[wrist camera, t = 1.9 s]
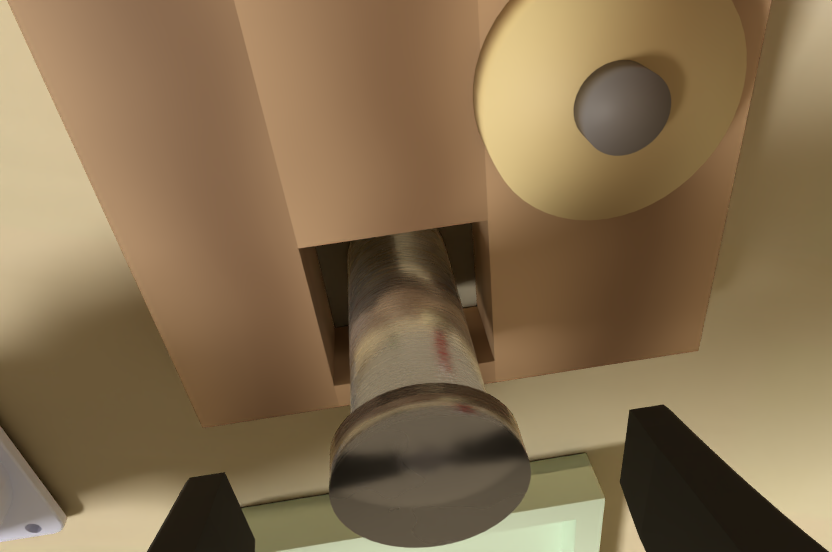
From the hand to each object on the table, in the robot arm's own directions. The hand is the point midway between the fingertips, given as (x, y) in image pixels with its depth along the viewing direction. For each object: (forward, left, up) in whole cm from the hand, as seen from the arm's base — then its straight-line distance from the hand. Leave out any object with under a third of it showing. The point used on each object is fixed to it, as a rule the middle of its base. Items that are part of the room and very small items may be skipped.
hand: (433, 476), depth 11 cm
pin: (0, 0, -8) cm, 8 cm away
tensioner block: (+1, +3, -8) cm, 8 cm away
